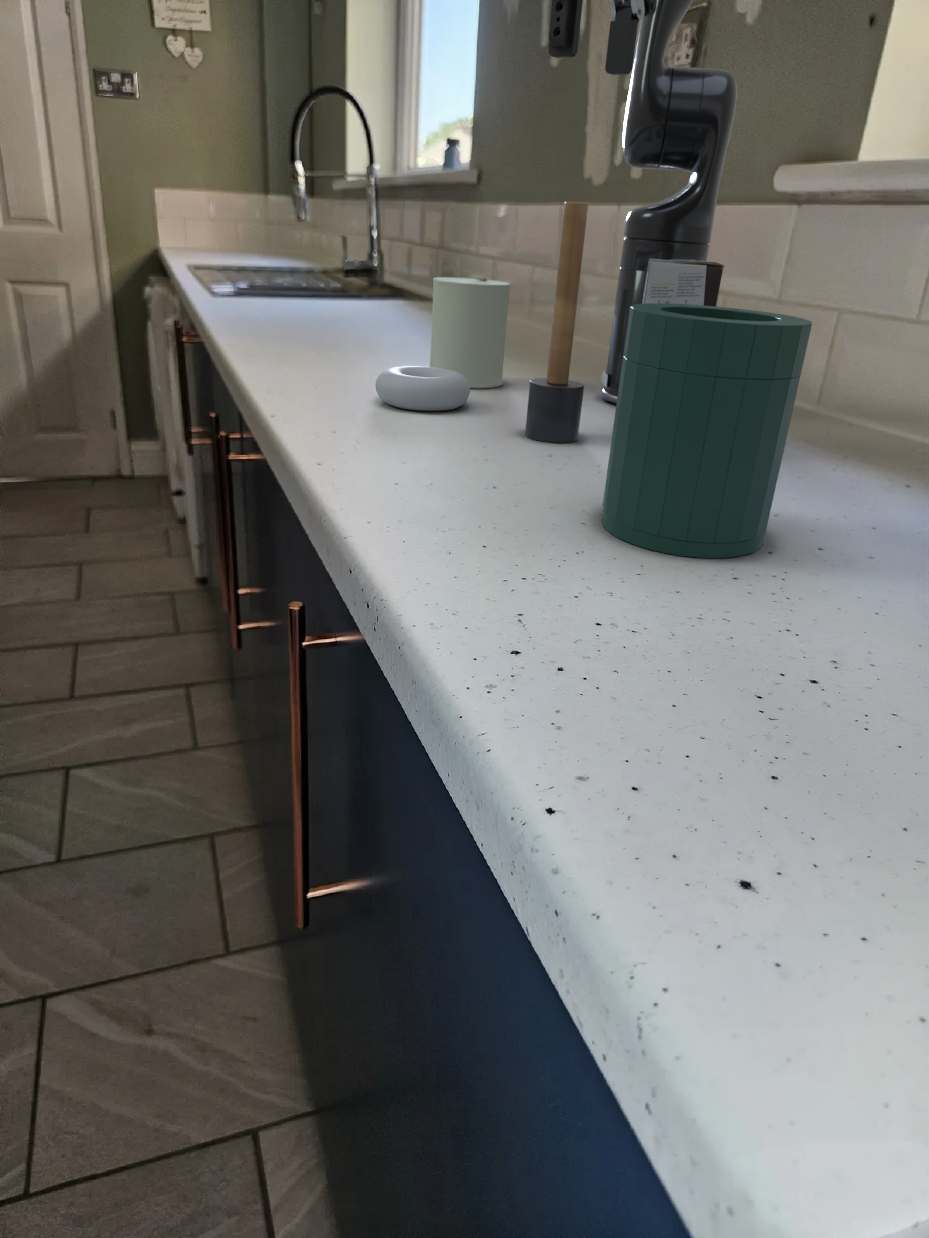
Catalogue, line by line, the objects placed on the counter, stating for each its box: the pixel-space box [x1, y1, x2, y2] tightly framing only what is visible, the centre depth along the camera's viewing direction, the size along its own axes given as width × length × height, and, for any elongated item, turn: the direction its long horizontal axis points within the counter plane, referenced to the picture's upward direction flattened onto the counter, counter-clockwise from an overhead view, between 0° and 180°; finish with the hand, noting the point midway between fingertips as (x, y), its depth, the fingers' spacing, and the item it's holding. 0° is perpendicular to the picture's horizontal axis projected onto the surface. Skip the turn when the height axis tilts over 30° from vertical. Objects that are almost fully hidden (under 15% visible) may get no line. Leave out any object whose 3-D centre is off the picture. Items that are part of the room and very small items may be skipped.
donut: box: [375, 365, 471, 412], centre depth 91 cm, size 10×4×10 cm
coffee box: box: [642, 259, 725, 307], centre depth 81 cm, size 9×6×16 cm
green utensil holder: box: [601, 303, 813, 559], centre depth 56 cm, size 11×11×14 cm
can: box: [429, 275, 512, 389], centre depth 104 cm, size 9×9×12 cm
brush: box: [524, 201, 589, 444], centre depth 78 cm, size 5×5×20 cm
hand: (591, 66), depth 70 cm, fingers open, 8 cm apart
